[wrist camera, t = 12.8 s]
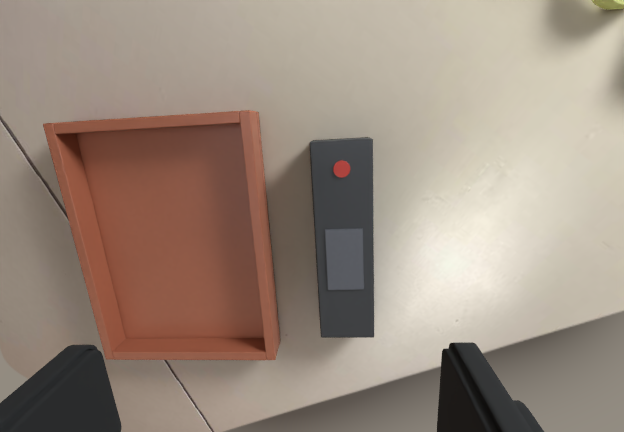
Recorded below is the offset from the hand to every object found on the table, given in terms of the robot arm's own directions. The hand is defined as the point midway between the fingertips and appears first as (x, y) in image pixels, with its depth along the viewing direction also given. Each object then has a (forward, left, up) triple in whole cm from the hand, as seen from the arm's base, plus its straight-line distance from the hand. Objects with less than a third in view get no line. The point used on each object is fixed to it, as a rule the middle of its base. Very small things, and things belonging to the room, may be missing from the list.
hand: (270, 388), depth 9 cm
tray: (-12, -2, -19) cm, 22 cm away
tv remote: (+2, -2, -19) cm, 19 cm away
